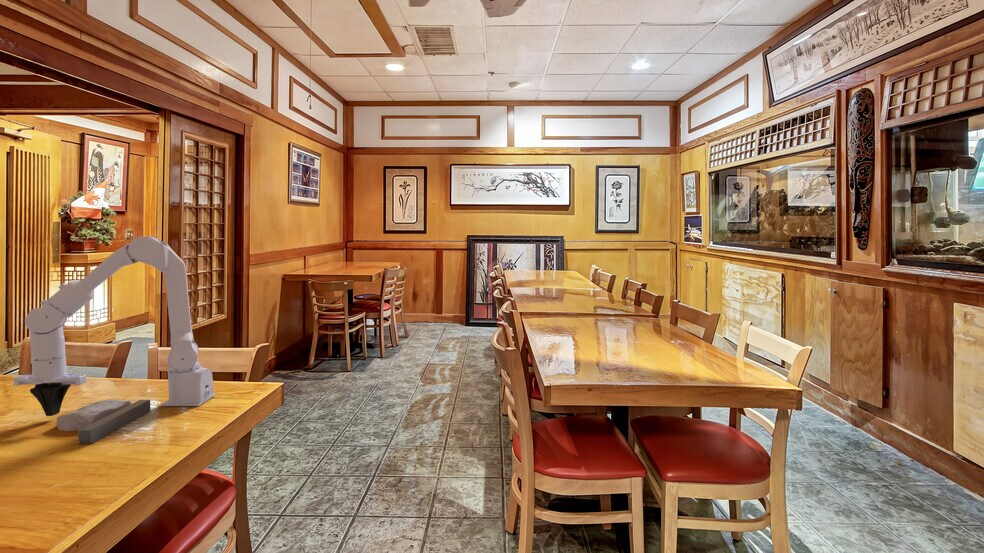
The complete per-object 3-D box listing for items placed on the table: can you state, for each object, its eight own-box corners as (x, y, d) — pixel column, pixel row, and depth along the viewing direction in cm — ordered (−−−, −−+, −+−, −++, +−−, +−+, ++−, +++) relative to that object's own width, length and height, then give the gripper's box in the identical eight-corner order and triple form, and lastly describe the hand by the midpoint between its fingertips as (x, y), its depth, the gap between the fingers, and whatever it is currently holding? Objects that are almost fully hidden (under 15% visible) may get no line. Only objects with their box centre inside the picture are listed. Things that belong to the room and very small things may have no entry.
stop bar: (150, 411, 113) (150, 399, 112) (91, 444, 95) (90, 430, 95) (140, 411, 113) (139, 399, 112) (79, 444, 95) (78, 430, 94)
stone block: (51, 439, 101) (95, 431, 101) (47, 418, 101) (90, 410, 101) (98, 419, 113) (137, 412, 113) (94, 401, 113) (133, 393, 113)
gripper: (-2, 362, 101) (2, 421, 102) (66, 362, 102) (70, 420, 103) (28, 354, 108) (32, 409, 109) (92, 354, 109) (95, 409, 110)
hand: (52, 414), depth 107 cm, fingers closed
